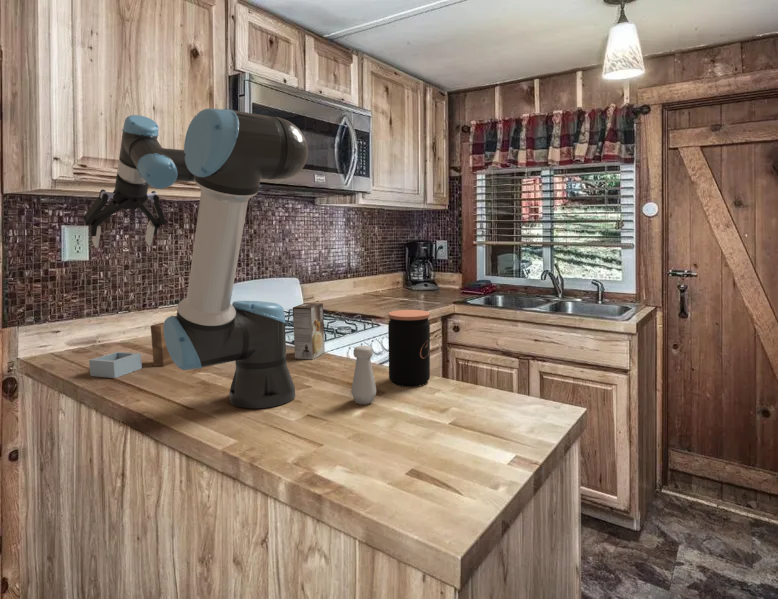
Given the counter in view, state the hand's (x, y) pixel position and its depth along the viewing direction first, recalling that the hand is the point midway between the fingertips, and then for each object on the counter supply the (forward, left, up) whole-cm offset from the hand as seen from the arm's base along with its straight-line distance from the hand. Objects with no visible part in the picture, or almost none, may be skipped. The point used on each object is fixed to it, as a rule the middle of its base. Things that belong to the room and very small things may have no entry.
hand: (122, 244), depth 145 cm
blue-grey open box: (+4, +2, -36) cm, 36 cm away
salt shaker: (-72, +7, -36) cm, 81 cm away
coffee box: (-41, -29, -36) cm, 62 cm away
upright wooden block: (-3, -9, -36) cm, 37 cm away
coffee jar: (-78, -11, -36) cm, 87 cm away
